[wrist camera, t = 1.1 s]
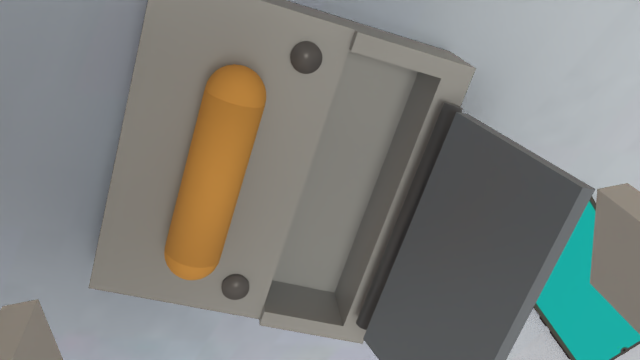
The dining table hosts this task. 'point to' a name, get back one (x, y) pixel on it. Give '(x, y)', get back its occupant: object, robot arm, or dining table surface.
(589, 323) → the smartphone
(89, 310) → the dining table surface
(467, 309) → the cover
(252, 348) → the dining table surface
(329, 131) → the hinged lid box
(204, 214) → the capsule
